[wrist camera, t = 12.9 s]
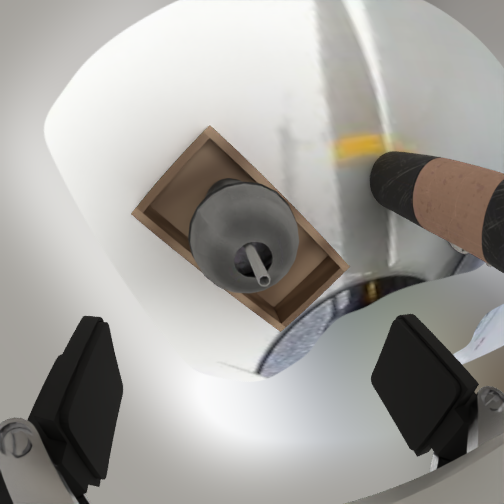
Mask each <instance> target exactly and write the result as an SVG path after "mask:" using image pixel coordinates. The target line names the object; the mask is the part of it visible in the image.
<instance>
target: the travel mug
mask: <svg viewBox="0 0 504 504" xmlns="http://www.w3.org/2000/svg"><path fill="white" fill-rule="evenodd" d="M370 185H371V190H372V193H373V195H374V197H375V198H376V200H377V201H378V202H379V203H380V204H381V205H383V206H385V207H386V208H388V209H390V210H392V211H394V212H395V213H397V214H399V215H401V216H403V217H405V218H406V219H408V220H410V221H412V222H413V223H415V224H417V225H419V226H421V227H422V228H424V229H426V230H428V231H430V232H431V233H433V234H435V235H437V236H439V237H441V238H443V239H445V240H447V241H449V242H451V243H452V244H454V245H456V246H458V247H460V248H462V249H463V250H465V251H467V252H469V253H471V254H472V255H474V256H476V257H478V258H479V259H481V260H483V261H484V262H486V263H488V264H490V265H491V266H493V267H495V268H496V269H498V270H499V271H501V272H503V273H504V174H503V173H500V172H496V171H493V170H490V169H486V168H482V167H479V166H475V165H471V164H467V163H463V162H459V161H455V160H451V159H446V158H441V157H435V156H428V155H421V154H413V153H405V152H388V153H386V154H384V155H382V156H381V157H380V158H379V159H378V160H377V161H376V163H375V164H374V166H373V169H372V172H371V178H370Z"/></svg>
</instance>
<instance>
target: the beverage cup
mask: <svg viewBox="0 0 504 504" xmlns="http://www.w3.org/2000/svg"><path fill="white" fill-rule="evenodd" d="M188 241H189V245H190V249H191V253H192V256H193V258H194V260H195V262H196V263H197V265H198V266H199V268H200V269H201V271H202V272H203V274H204V275H205V277H207V278H208V279H209V280H211V281H212V282H213V283H214V284H216V285H217V286H218V287H220V288H223V289H225V290H228V291H231V292H234V293H254V292H259V291H264V290H266V289H267V288H269V287H271V286H273V285H275V284H277V283H278V282H279V281H280V280H281V279H282V278H283V277H284V276H285V275H286V274H287V273H288V271H289V270H290V268H291V266H292V265H293V263H294V261H295V259H296V254H297V250H298V245H299V236H298V226H297V223H296V221H295V217H294V215H293V213H292V210H291V208H290V206H289V204H288V203H287V202H286V201H285V200H284V199H283V197H282V196H281V195H280V194H279V193H278V192H277V191H275V190H273V189H271V188H269V187H267V186H265V185H263V184H259V183H252V182H245V181H243V182H242V181H240V180H238V179H231V178H226V179H221V180H219V181H217V182H215V183H214V184H213V185H212V186H211V187H210V189H209V190H208V192H207V194H206V196H205V199H204V200H203V201H202V202H201V203H200V204H199V205H198V206H197V208H196V210H195V212H194V214H193V216H192V219H191V221H190V225H189V235H188Z"/></svg>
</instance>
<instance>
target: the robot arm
mask: <svg viewBox="0 0 504 504" xmlns="http://www.w3.org/2000/svg"><path fill="white" fill-rule="evenodd" d="M449 243H450V244H451V246H452V247H453V248H454V249H455V250H456V251H458V252H460V253H462V254H469V252H467V251H465V250H463V249H462V248H460V247H458V246H456V245H454V244H452V243H451V242H449ZM486 265H487V266H491V265H490V264H488V263H486ZM371 382H372V385H373V387H374V388H375V390H376V391H377V393H378V395H379V397H380V398H381V400H382V402H383V403H384V405H385V407H386V408H387V410H388V412H389V414H390V415H391V417H392V419H393V420H394V422H395V423H396V425H397V427H398V429H399V431H400V432H401V434H402V436H403V438H404V439H405V441H406V443H407V445H408V446H409V448H410V449H411V450H414V452H415V454H416V455H417V456H420V455H422V454H425V453H427V452H429V451H430V449H431V448H432V449H433V451H434V453H433V458H432V463H431V468H430V472H429V473H428V474H426V475H423V476H421V477H419V478H416V479H414V480H412V481H409V482H407V483H404V484H402V485H399V486H397V487H394V488H392V489H389V490H386V491H383V492H380V493H377V494H375V495H372V496H368V497H366V498H362V499H359V500H356V501H352V502H349V503H345V504H504V394H503V393H502V392H501V391H500V390H498V389H497V388H494V387H490V386H486V387H482V388H481V389H480V390H479V392H478V393H477V394H475V392H474V391H475V389H476V388H477V386H478V385H479V384H478V383H477V381H476V380H475V379H474V378H473V377H472V376H471V375H470V373H469V372H468V371H467V370H466V369H465V368H464V367H463V365H462V364H461V363H460V362H459V361H458V360H457V359H456V358H455V357H454V356H453V355H452V354H451V352H450V351H449V350H448V349H447V348H446V347H445V346H444V345H443V344H442V343H441V342H440V341H439V340H438V339H437V338H436V336H434V334H433V333H432V332H431V331H430V330H429V329H428V328H427V327H426V326H425V325H424V324H423V323H422V322H421V321H420V320H419V319H418V318H417V317H416V316H415V315H413V314H407V315H400V316H398V317H397V318H396V320H394V321H393V323H392V325H391V328H390V331H389V333H388V336H387V339H386V341H385V344H384V346H383V349H382V351H381V354H380V356H379V359H378V361H377V364H376V366H375V368H374V371H373V373H372V376H371ZM122 395H123V384H122V380H121V376H120V372H119V369H118V364H117V360H116V356H115V352H114V348H113V343H112V338H111V333H110V328H109V325H108V323H107V322H103V319H102V318H101V317H93V316H84V317H83V318H82V319H81V321H80V323H79V324H78V326H77V328H76V330H75V332H74V333H73V335H72V337H71V339H70V341H69V343H68V345H67V347H66V348H65V350H64V352H63V354H62V355H60V356H58V358H57V359H56V361H55V363H54V365H53V367H52V369H51V371H50V373H49V375H48V377H47V379H46V381H45V383H44V385H43V387H42V389H41V391H40V393H39V396H38V398H37V400H36V402H35V404H34V406H33V409H32V411H31V413H30V416H29V418H28V420H25V419H22V418H10V419H7V420H5V421H3V422H2V423H1V424H0V504H92V503H91V502H90V501H89V499H88V497H87V496H86V494H85V493H86V492H87V488H88V485H93V486H98V487H99V486H100V480H101V479H105V478H106V475H107V470H108V464H109V458H110V452H111V447H112V441H113V436H114V431H115V427H116V421H117V417H118V412H119V408H120V404H121V399H122Z"/></svg>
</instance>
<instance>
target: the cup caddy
mask: <svg viewBox="0 0 504 504" xmlns="http://www.w3.org/2000/svg"><path fill="white" fill-rule="evenodd" d="M226 178H231V179H238V180H240V181H242V182H243V181H245V182H252V183H259V184H263V185H265V186H267V187H269V188H271V189H273V190H275V191H277V192H278V193H279V194H280V195H281V196H282V197H283V199H284V200H285V201H286V202H287V203H288V204H289V206H290V208H291V210H292V213H293V215H294V217H295V221H296V223H297V226H298V236H299V245H298V250H297V254H296V259H295V261H294V263H293V265H292V266H291V268H290V270H289V271H288V273H287V274H286V275H285V276H284V277H283V278H282V279H281V280H280V281H279V282H278V283H277V284H275V285H273V286H271V287H269V288H267V289H266V290H264V291H259V292H254V293H234V292H231V291H228V290H226V291H227V292H228V293H229V294H231V295H232V296H233V297H235V298H236V299H237V300H239V301H240V302H241V303H243V304H244V305H245V306H247V307H248V308H249V309H250V310H252V311H253V312H254V313H256V314H257V315H259V316H260V317H261V318H263V319H264V320H265V321H267V322H268V323H269V324H271V325H272V326H273V327H275V328H276V329H277V330H279V331H280V332H281V331H282V330H283V329H284V328H285V327H287V326H288V325H289V324H290V323H291V322H292V321H293V320H294V319H295V318H297V317H298V316H299V315H300V314H301V313H302V312H303V311H304V310H305V309H306V308H307V307H309V306H310V305H311V304H312V303H313V302H314V301H315V300H316V299H317V298H318V297H319V296H320V295H321V294H322V293H323V292H324V291H326V290H327V289H328V288H329V287H330V286H331V285H332V284H333V283H334V282H335V281H336V280H337V279H338V278H339V277H340V276H341V275H342V274H343V273H344V272H345V271H346V270H347V269H348V268H349V265H348V264H347V263H346V262H345V261H344V260H343V259H342V258H341V257H340V255H339V254H338V253H337V252H336V251H335V250H334V249H333V248H332V247H331V246H330V245H329V243H328V242H327V241H326V240H325V239H324V238H323V237H322V236H321V235H320V234H319V233H318V232H317V231H316V229H315V228H314V227H313V226H312V225H311V224H310V223H309V222H308V221H307V220H306V219H305V218H304V217H303V216H302V215H301V214H300V213H299V212H298V211H297V210H296V209H295V207H294V206H293V205H292V204H291V203H290V202H289V201H288V200H287V199H286V198H285V197H284V196H283V195H282V194H281V193H280V192H279V191H278V190H277V189H276V188H275V187H274V186H273V185H272V184H271V183H270V182H269V181H268V180H267V179H266V178H265V177H264V176H263V175H262V174H261V173H260V172H259V171H258V170H257V169H256V168H255V167H254V166H253V165H252V164H250V163H249V162H248V161H247V160H246V159H245V158H244V157H243V156H242V155H241V154H240V153H239V152H238V151H237V150H236V149H235V148H234V147H233V146H232V145H231V144H230V143H228V142H227V141H226V140H225V139H224V138H223V137H222V136H221V135H220V134H219V133H218V132H217V131H216V130H214V129H213V128H212V127H211V126H210V125H209V126H208V127H207V128H206V129H205V131H204V132H203V133H202V134H201V135H200V136H199V137H198V138H197V139H196V140H195V141H194V142H193V143H192V144H191V145H190V146H189V147H188V148H187V149H186V150H185V152H184V153H183V154H182V155H181V156H180V157H179V158H178V159H177V160H176V161H175V162H174V164H173V165H172V166H171V167H170V168H169V169H168V170H167V171H166V173H165V174H164V175H163V176H162V177H161V178H160V179H159V181H158V182H157V183H156V184H155V185H154V186H153V188H152V189H151V190H150V191H149V192H148V194H147V195H146V196H145V197H144V198H143V200H142V201H141V202H140V203H139V205H138V206H137V207H136V208H135V210H134V211H133V212H132V213H131V214H132V215H133V216H134V217H135V218H136V219H137V220H139V221H140V222H141V223H142V224H143V225H145V226H146V227H147V228H148V229H149V230H151V231H152V232H153V233H154V234H155V235H157V236H158V237H159V238H160V239H161V240H163V241H164V242H165V243H166V244H168V245H169V246H170V247H171V248H172V249H174V250H175V251H176V252H177V253H179V254H180V255H181V256H182V257H184V258H185V259H186V260H187V261H189V262H190V263H191V264H192V265H194V266H195V267H196V268H197V269H199V270H200V271H201V269H200V268H199V266H198V265H197V263H196V262H195V260H194V258H193V256H192V253H191V249H190V245H189V241H188V235H189V225H190V221H191V219H192V216H193V214H194V212H195V210H196V208H197V206H198V205H199V204H200V203H201V202H202V201H203V200H204V199H205V196H206V194H207V192H208V190H209V189H210V187H211V186H212V185H213V184H214V183H215V182H217V181H219V180H221V179H226ZM201 272H202V271H201ZM202 273H203V272H202ZM224 290H225V289H224Z"/></svg>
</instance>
